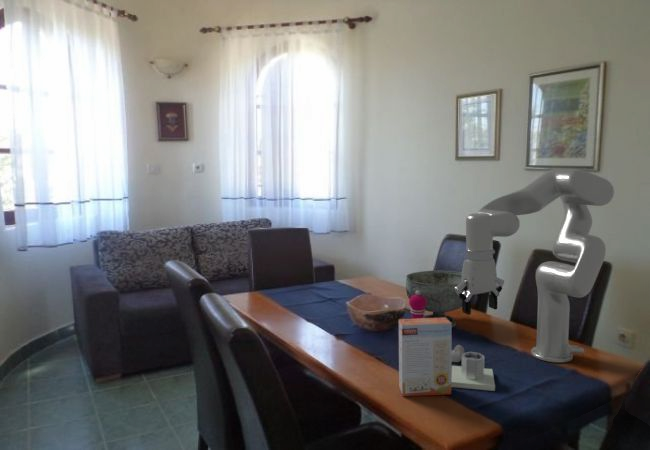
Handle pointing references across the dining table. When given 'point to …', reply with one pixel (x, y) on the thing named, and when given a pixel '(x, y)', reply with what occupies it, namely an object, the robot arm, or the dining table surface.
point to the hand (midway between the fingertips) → (479, 310)
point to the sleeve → (472, 366)
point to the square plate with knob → (480, 384)
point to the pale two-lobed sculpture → (457, 353)
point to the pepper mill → (417, 305)
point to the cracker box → (425, 356)
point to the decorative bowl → (436, 291)
